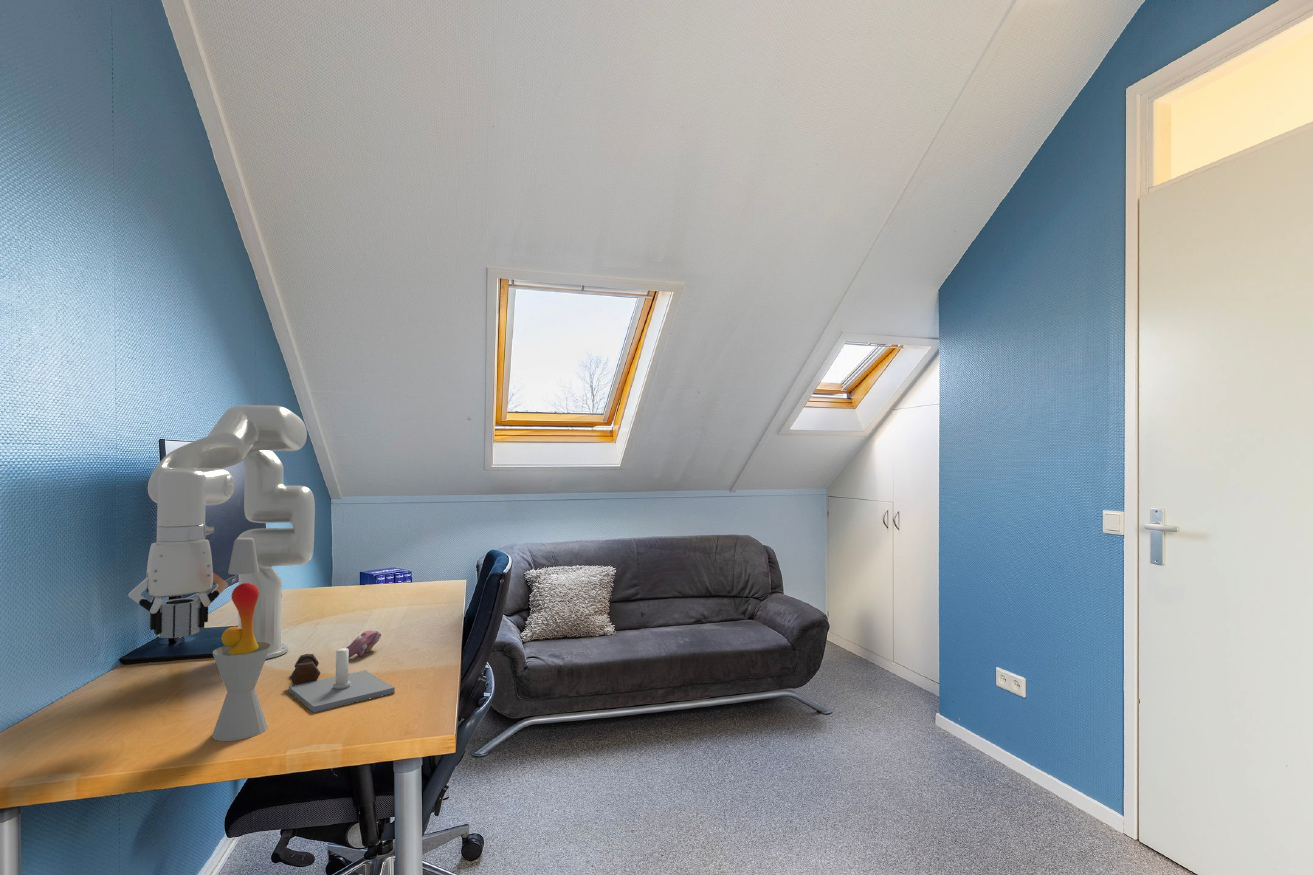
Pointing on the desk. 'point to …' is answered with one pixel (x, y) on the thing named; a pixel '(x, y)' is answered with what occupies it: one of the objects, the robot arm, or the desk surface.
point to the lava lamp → (241, 656)
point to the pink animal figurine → (363, 643)
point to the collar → (180, 617)
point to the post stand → (340, 687)
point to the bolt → (305, 670)
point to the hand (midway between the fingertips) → (179, 628)
